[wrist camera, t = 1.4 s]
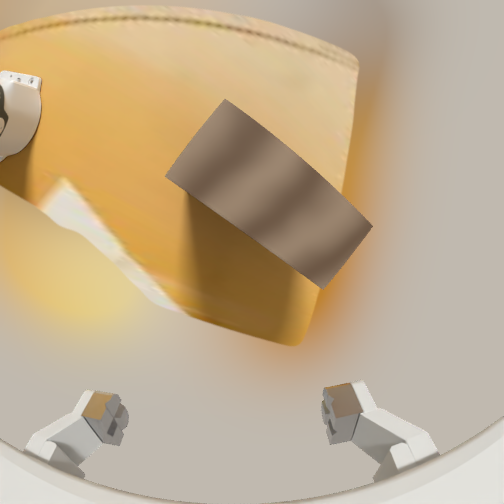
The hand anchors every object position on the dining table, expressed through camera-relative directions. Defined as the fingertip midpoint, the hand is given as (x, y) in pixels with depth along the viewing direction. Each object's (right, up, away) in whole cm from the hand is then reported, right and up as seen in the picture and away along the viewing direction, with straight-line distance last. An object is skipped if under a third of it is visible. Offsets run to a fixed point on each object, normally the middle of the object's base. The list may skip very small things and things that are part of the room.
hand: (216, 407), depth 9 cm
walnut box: (0, +17, +35) cm, 39 cm away
